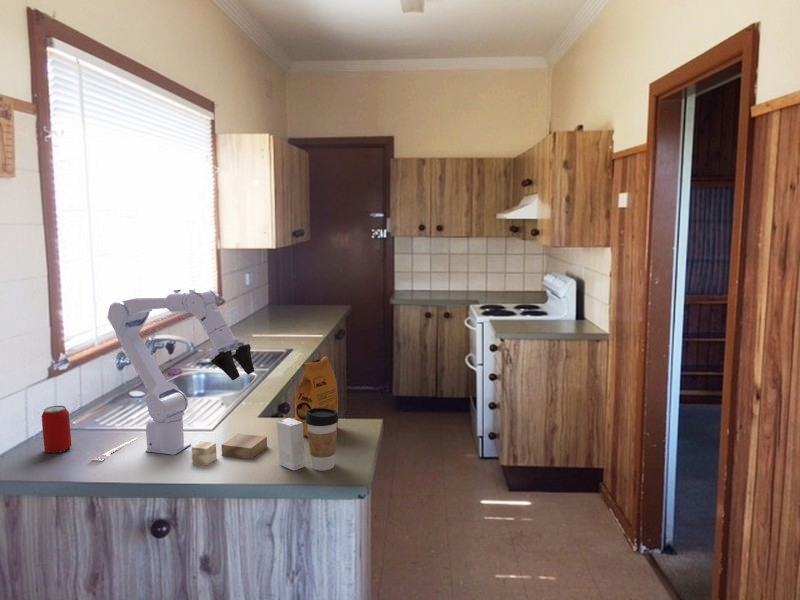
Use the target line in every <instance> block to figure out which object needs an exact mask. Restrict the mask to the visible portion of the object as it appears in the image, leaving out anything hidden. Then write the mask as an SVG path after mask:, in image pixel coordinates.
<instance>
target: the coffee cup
mask: <svg viewBox="0 0 800 600" xmlns="http://www.w3.org/2000/svg"><path fill="white" fill-rule="evenodd" d="M306 412H307V413H306V423H307V424H308V429H307V431H308V437H307V438H308V446H309V448H308V449H309V455H310V462H311V468H312V469H313V470H314V471H320V472H321V471H325V472H326V471H329V470H331V469H333V468H335V462H336V450H337V449H336V448H337V436H338V435H337V434H338V428H337V422H338V423H339V415H337V411H336V410H334V409H329V408H311V409H309V410H307V411H306Z"/></svg>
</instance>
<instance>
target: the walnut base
mask: <svg viewBox="0 0 800 600" xmlns="http://www.w3.org/2000/svg"><path fill="white" fill-rule="evenodd" d="M266 448H268V437H267V436H263V435H254V434H246V433H237V434H236V435H235V436H233V437H230V439H228V440H227V441H225V442H223V443H222V444H221V456H224V457H234V458H240V457H242V458H243V459H249V458H251V460H252V459H253V458H255V457H256V456H257V455H258V453H259V452H260V453H261V452H262V451H264V450H265V449H266ZM260 453H259V454H260ZM254 456H255V457H254Z"/></svg>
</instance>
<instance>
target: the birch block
mask: <svg viewBox="0 0 800 600" xmlns="http://www.w3.org/2000/svg"><path fill="white" fill-rule="evenodd" d="M217 455H218V454H217V443H216V442H211V441H199V442H198V443H197V444H196V443H195V445H193V446H191V463H192V464H195V463H196V465H203V464H204V465H203V466H205V465H206V466H208V465H209V463H210V464H211V463H212V462H214V461H216V460H217V459H218V457H217Z"/></svg>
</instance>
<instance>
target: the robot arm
mask: <svg viewBox="0 0 800 600" xmlns="http://www.w3.org/2000/svg"><path fill="white" fill-rule="evenodd" d="M217 304H218V297H217V295H216V293H215V292H214V291H213V290H211V289H207V288H204V289H201V290H196V289H195V288H191V289H189V290H181V288H177V289H173V291H171V292H169V293H168V294H167V295H166V296H165V295H164V296H163V295H160V296H159V295H157V296H155V295H147V296H145V295H144V296H139V297H134V298H130V299H126V300H125V299H124V300H121V301H114V302H112V303H111V304H110V305H109V307H108V308H109V309H108V311H107V317H106V318H107V319H108V321H109V323H110V325H111V327H112V329H113V330H114V332H115V335H116V338H117V341H118V342H119V344H120V345H121V347H122V349H123V351H124V352H125V354H126V356H127V358H128V359H129V361H130V362H131V364H132V366H133V368H134V369H135V371H136V372H137V373H136V374H138V376H139V378H140V380H141V382H142V383H143V385H144V386H145V388H146V390H147V394H146V397H145V399H144V403H145V404H146V407H147V411H148V414H149V417H150V418H149V419H148V420H147V423H146V428H145V434H146V449H145V452H149V453H156V454H157V453H158V454H166V455H172V456H174V455H176V454H178V453H179V452H182V451H183V450H184V449H186V448H187V447H190V446H191V444H192V443H191V442H185V436H184V417H183V416H184V415H185V411H186V410H187V408H188V407H189V405H188V404H189V400H188V398H187V395H186V394H185V393H184V392H183V391H181V390H180V388H179V387H178V386H177V384H174V383H171V382H169V381H168V380H166V377H165V375H164V374H163V373H162V370H161V369H160V367H159V366H158V364H157V362H156V360H155V358H154V357H153V356H152V354H151V352H150V350H149V348H148V347H147V345H146V344H145V342H144V340H143V338H142V337H141V335H140V333H141V330H142V329H143V328H144V325H145V324H146V323H147V320H148V317H149V315H150V313H151V312H152V311H153V310H158V309H166V310H168V311H169V312H171V313H173V314H175V313H176V314H178V313H183V314H184V313H185V314H186V313H190V314H192V315H194V316H195V318H196V320H197V321H199V322H200V324H201V326H202V328H203V330H204V331H205V333H206V335H207V337H208V338H209V340H210V342H211V343H212V345H213V347H212V348H211V349H210V350H208V352H207V353H208V354H209V356H210V357H211V360H210V362H211V364H212V365H214V366H216V367H218V368H219V369H220V370H221V371H223V373H225V375H227V376H228V378H230V380H231V381H235V380H237V379H238V378H239V377H240V373H239V370H238V368H237V365H236V364H235V361H236V362H237V363H238V365H240V366H241V369H242V370H243V371H244V372H245V374H247V375H251V374H252V373H254V372H255V367H254V364H253V360H252V355H251V354H252V353H251V345H250V344H249V343H246V341H245V340H244V339H241V338H240V337H235V335H234V334H233V332H232V330H231V327H230V326H229V325H228V322H227V321H226V320H225V318H224V316H223V314H222V312H221V311H220V308H219V307H218V305H217ZM233 352H234V353H233ZM234 360H235V361H234Z"/></svg>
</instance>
